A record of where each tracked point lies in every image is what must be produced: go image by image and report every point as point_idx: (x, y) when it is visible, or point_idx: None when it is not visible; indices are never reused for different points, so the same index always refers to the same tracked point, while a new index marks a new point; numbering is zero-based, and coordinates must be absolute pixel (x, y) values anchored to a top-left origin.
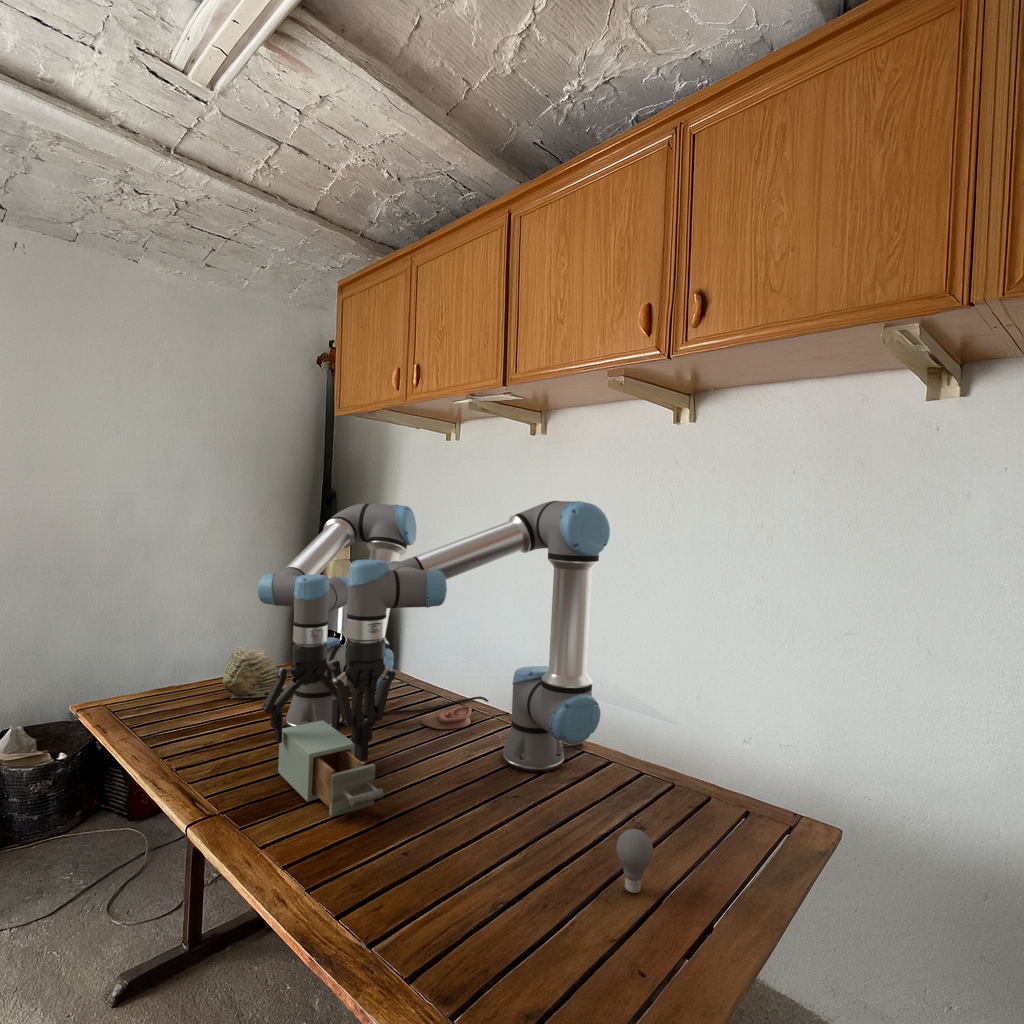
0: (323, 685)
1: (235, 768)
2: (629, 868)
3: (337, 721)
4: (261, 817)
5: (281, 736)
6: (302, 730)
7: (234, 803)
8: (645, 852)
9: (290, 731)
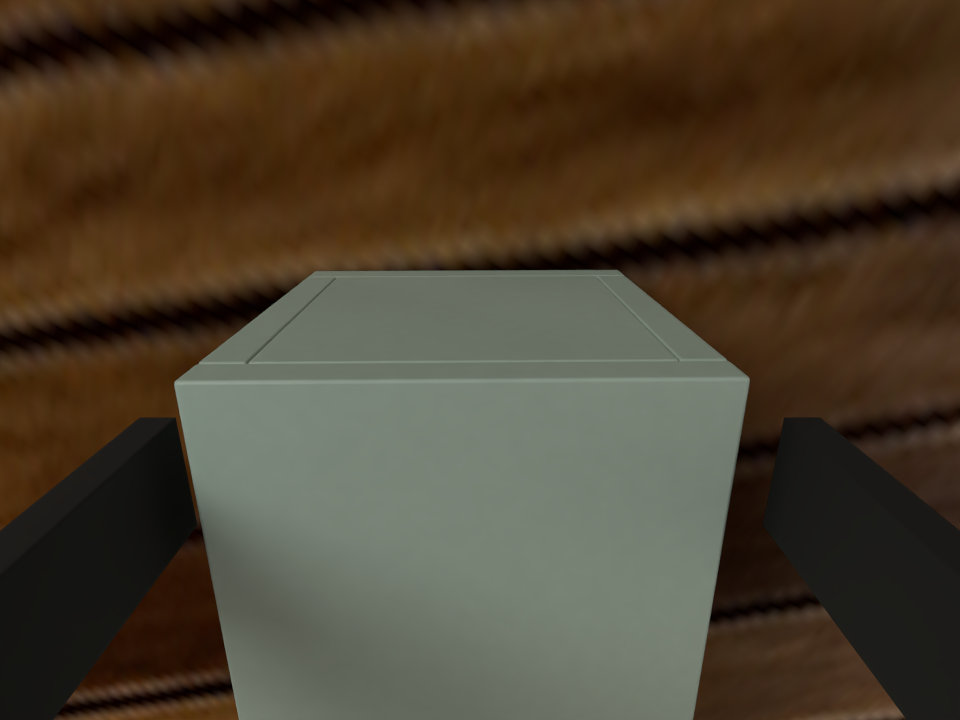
0: None
1: (49, 17)
2: None
3: (820, 588)
4: (135, 675)
5: (159, 566)
6: (399, 552)
7: (25, 507)
8: None
9: (271, 517)
